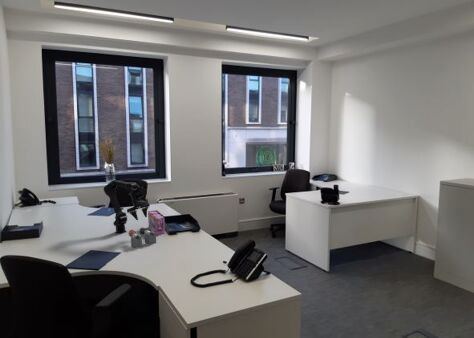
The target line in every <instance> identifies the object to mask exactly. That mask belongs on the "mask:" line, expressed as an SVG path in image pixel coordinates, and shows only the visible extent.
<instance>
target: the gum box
mask: <svg viewBox="0 0 474 338" xmlns="http://www.w3.org/2000/svg"><path fill="white" fill-rule="evenodd" d="M147 218H148V219H147V220H148V222H147V223H148V228H149V229H150V230H151V231H152V232H155V233H156V235H162V234H165V233H166V229H165V227H166V225H165V216H164V214H162V213H161V212H159V211H158V210H150V211H149V210H147Z"/></svg>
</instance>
